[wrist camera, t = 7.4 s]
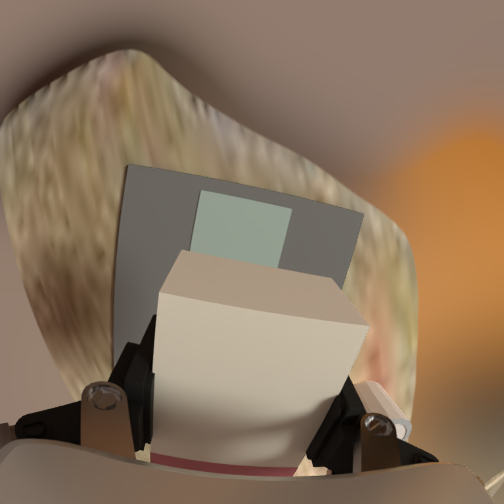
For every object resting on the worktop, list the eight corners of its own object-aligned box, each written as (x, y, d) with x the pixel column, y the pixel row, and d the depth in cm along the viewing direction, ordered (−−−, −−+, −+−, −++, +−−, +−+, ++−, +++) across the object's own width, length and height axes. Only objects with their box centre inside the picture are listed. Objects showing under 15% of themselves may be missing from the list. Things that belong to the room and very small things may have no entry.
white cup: (396, 392, 30) (421, 431, 24) (351, 426, 31) (369, 468, 25) (368, 366, 29) (395, 409, 22) (319, 405, 30) (335, 452, 23)
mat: (293, 410, 30) (294, 413, 29) (115, 381, 27) (114, 384, 27) (362, 213, 24) (364, 214, 24) (130, 164, 22) (128, 164, 21)
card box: (181, 249, 10) (158, 292, 7) (331, 277, 11) (370, 326, 8) (163, 410, 13) (150, 470, 9) (276, 425, 13) (287, 484, 10)
